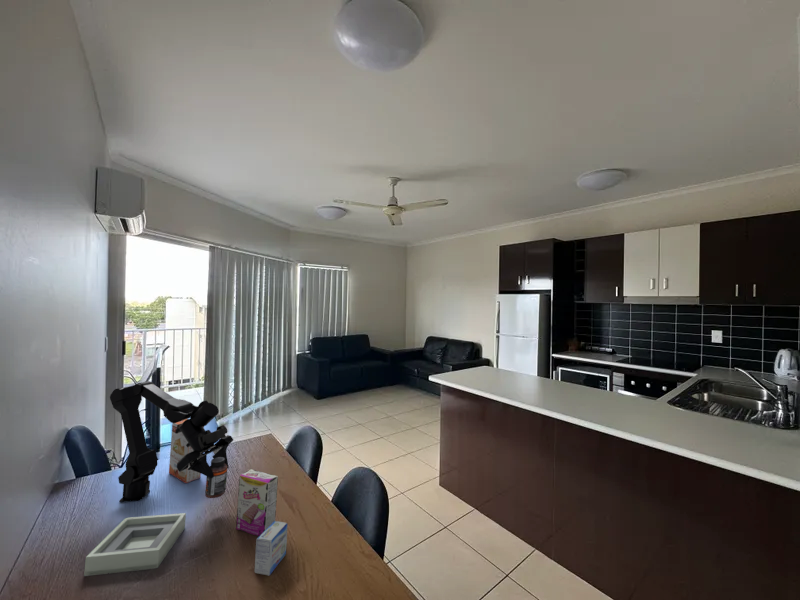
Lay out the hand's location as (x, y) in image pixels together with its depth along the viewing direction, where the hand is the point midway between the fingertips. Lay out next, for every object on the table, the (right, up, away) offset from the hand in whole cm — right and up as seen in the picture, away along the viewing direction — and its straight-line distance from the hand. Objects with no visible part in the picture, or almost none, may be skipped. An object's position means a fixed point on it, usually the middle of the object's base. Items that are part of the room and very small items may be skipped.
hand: (220, 472), depth 107 cm
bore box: (-12, -11, -18) cm, 25 cm away
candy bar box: (+15, -13, -8) cm, 22 cm away
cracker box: (-27, -14, +22) cm, 38 cm away
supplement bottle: (-2, -7, 0) cm, 7 cm away
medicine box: (+25, -13, -21) cm, 35 cm away
